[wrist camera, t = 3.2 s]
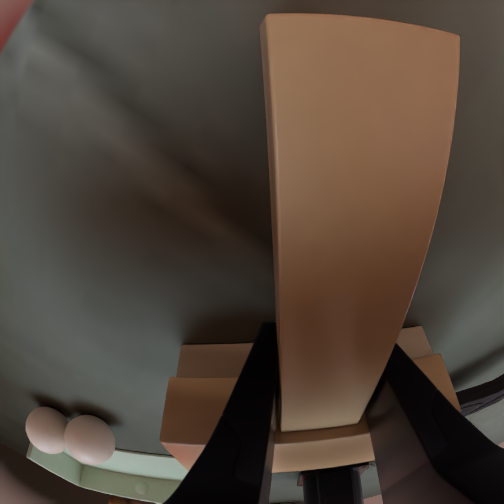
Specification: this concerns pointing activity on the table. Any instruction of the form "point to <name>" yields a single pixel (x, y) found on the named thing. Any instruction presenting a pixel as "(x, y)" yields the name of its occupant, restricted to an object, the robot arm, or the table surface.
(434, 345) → the table surface
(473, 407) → the hairbrush
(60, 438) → the ball left
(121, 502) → the fruit
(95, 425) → the ball right
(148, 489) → the dustpan
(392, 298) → the brush
